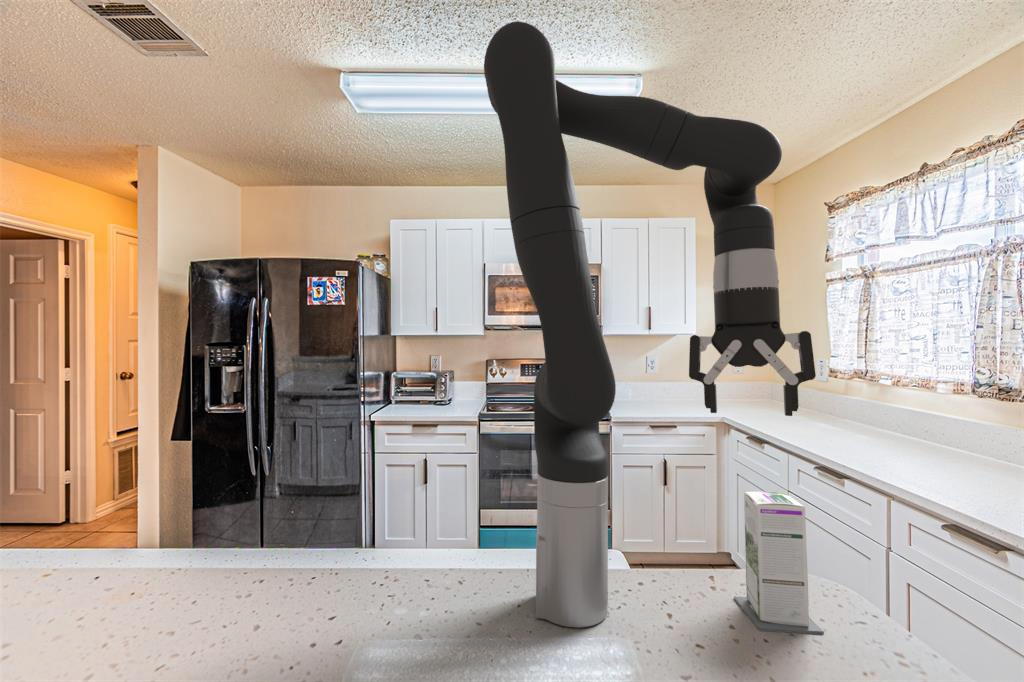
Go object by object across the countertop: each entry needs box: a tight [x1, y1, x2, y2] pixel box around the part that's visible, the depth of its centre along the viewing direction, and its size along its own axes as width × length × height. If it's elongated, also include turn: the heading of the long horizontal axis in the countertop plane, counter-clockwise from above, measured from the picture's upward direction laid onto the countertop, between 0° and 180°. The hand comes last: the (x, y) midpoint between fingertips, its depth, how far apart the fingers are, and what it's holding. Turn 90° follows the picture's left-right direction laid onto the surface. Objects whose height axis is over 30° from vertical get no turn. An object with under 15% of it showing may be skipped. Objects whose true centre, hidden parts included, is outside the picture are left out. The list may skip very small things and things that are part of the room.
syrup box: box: [743, 491, 810, 627], centre depth 58 cm, size 6×6×14 cm
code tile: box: [733, 595, 825, 635], centre depth 58 cm, size 7×7×1 cm
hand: (750, 413), depth 58 cm, fingers open, 8 cm apart
